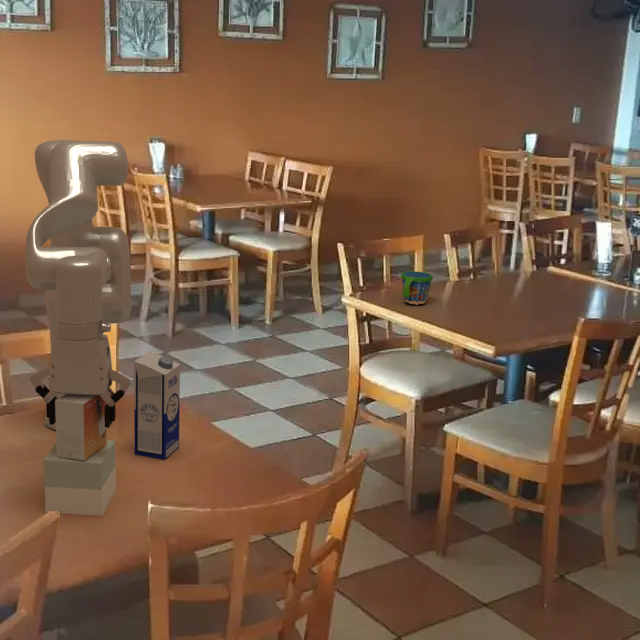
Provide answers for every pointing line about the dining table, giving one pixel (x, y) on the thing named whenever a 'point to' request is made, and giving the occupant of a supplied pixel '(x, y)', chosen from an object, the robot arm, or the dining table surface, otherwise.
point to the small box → (80, 425)
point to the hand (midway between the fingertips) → (81, 423)
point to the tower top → (79, 469)
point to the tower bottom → (80, 499)
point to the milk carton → (156, 406)
